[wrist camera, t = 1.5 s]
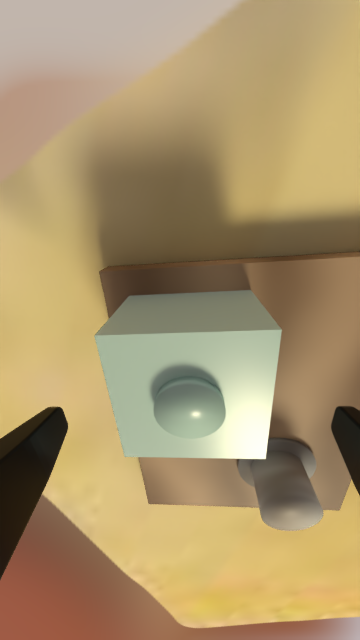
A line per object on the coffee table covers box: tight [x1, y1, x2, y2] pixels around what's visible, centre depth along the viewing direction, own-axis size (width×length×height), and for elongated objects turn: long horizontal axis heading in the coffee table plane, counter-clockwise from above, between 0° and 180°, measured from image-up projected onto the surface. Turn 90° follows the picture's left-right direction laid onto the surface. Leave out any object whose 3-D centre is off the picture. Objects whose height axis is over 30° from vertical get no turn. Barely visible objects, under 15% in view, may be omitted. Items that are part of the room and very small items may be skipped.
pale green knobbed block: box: [95, 290, 282, 459], centre depth 10 cm, size 6×6×4 cm
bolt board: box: [99, 252, 360, 531], centre depth 13 cm, size 14×18×4 cm
